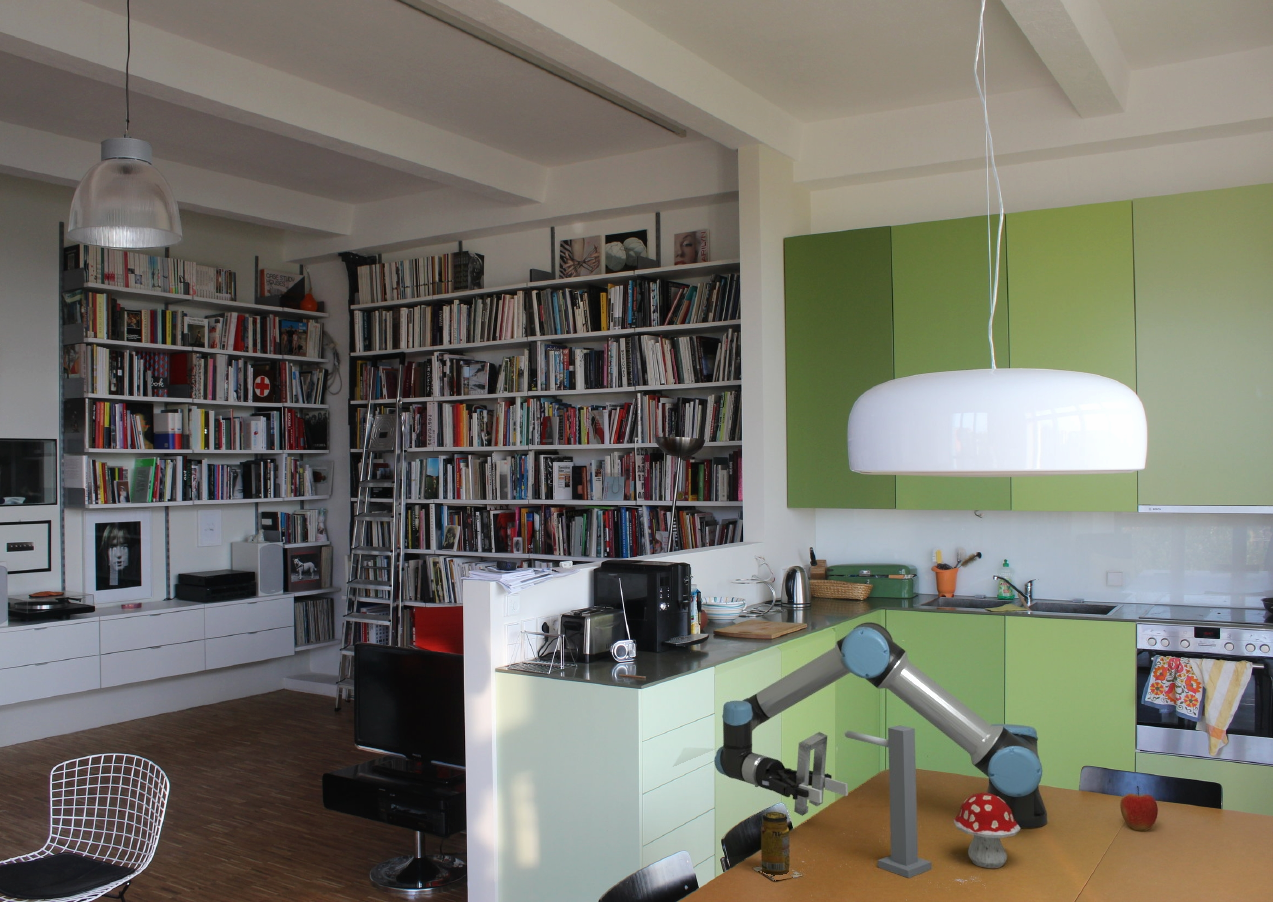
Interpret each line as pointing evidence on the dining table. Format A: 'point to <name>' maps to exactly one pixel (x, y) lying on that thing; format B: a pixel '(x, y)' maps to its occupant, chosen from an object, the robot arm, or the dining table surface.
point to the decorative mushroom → (986, 828)
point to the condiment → (775, 845)
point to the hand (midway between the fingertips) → (833, 793)
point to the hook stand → (900, 801)
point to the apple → (1139, 811)
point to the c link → (819, 746)
